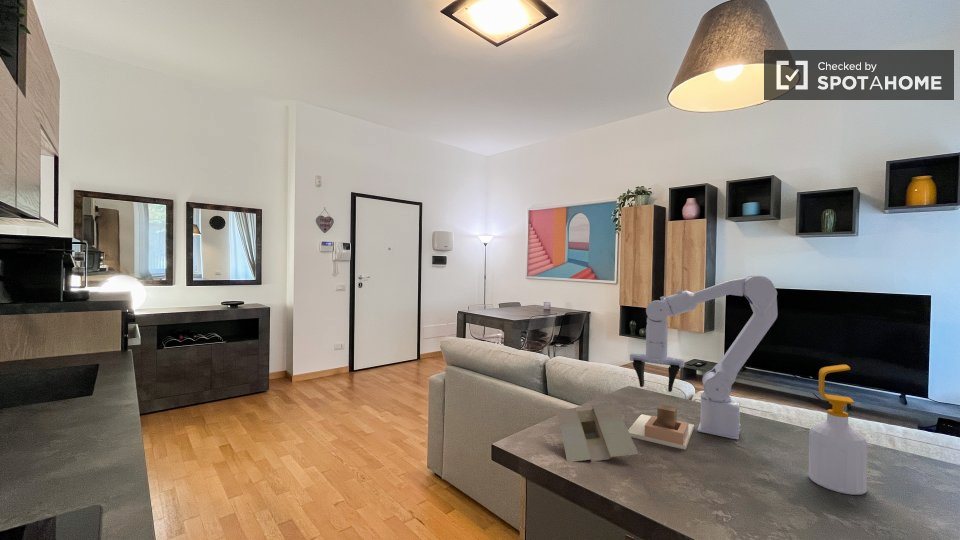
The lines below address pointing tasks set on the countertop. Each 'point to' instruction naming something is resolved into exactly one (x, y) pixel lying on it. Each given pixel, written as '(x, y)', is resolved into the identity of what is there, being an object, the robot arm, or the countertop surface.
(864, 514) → the countertop surface
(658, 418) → the walnut block
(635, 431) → the cream board
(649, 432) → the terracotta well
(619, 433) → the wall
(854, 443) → the soap bottle
